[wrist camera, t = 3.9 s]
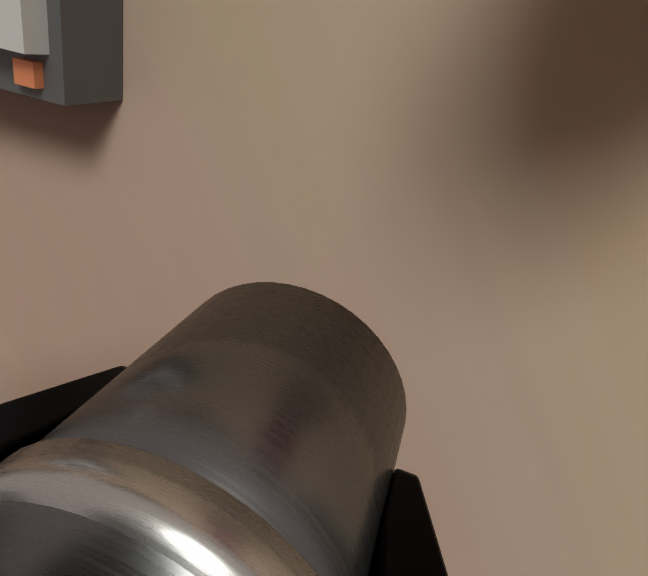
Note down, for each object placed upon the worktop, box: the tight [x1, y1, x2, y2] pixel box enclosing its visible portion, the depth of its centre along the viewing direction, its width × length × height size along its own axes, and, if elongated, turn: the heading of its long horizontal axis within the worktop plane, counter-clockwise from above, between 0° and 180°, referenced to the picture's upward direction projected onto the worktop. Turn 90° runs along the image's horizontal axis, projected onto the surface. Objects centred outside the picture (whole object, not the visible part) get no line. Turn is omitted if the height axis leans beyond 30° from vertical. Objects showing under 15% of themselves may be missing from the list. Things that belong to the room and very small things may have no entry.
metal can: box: [0, 282, 406, 576], centre depth 8 cm, size 5×5×6 cm
